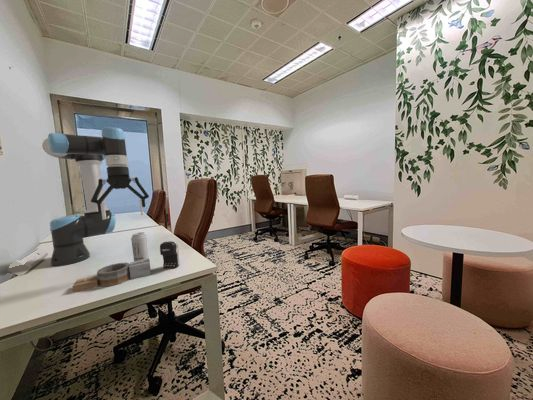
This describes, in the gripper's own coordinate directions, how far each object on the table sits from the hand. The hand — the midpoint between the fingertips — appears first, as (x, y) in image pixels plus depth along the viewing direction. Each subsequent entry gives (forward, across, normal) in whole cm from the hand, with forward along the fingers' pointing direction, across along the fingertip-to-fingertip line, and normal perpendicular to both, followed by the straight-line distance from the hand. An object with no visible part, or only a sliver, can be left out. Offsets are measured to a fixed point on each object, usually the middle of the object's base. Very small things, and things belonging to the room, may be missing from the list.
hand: (124, 216), depth 92 cm
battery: (+24, +16, -7) cm, 29 cm away
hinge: (+24, -4, -8) cm, 25 cm away
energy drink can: (+24, +4, +4) cm, 25 cm away
